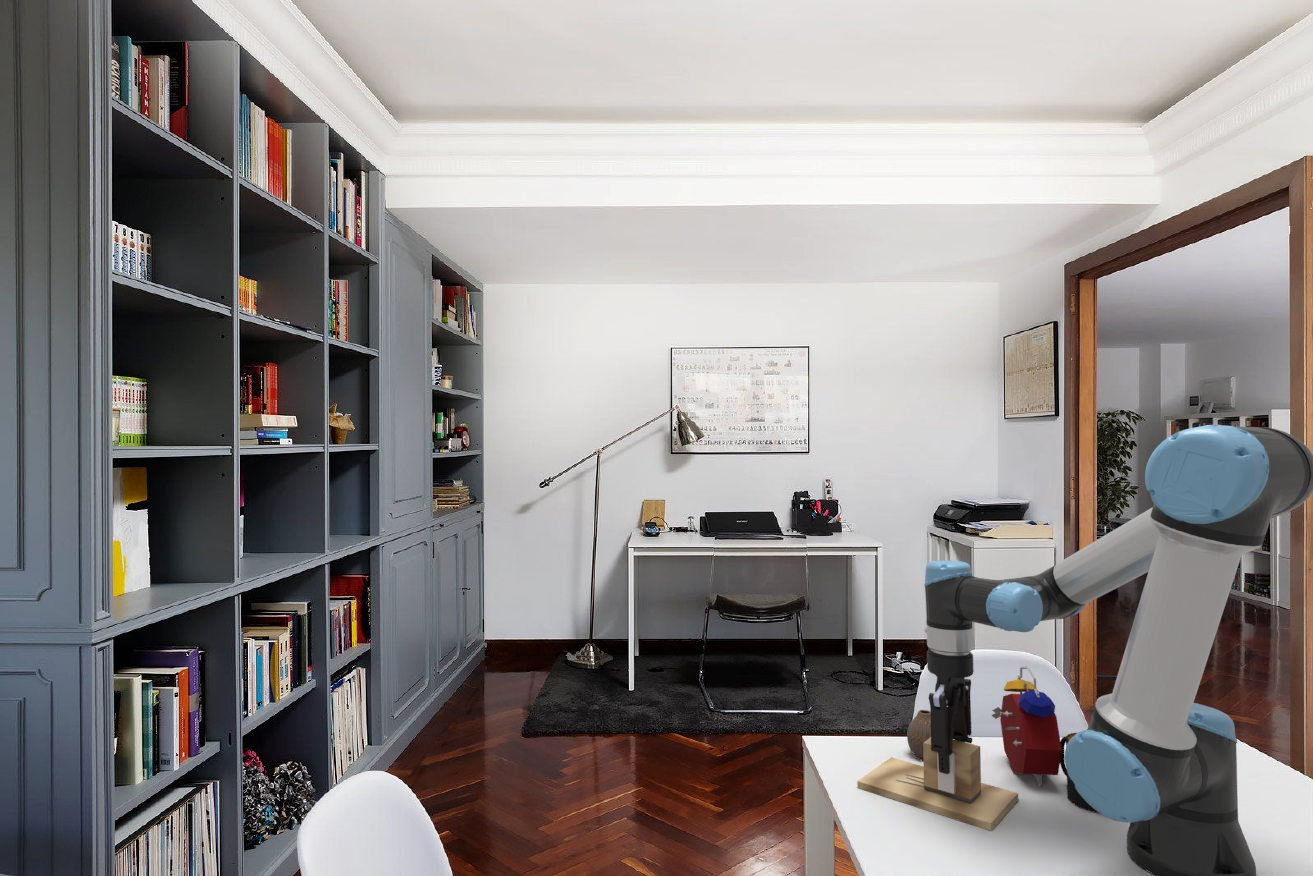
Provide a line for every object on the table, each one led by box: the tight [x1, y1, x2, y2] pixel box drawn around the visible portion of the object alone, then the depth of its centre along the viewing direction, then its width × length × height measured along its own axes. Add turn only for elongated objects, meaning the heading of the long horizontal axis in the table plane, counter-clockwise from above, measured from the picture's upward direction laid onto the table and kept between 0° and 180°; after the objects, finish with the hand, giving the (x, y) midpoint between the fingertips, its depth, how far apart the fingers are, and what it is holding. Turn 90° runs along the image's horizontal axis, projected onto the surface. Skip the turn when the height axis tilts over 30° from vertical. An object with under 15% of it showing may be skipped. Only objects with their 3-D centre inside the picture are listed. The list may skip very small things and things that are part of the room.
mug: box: [1059, 732, 1100, 814], centre depth 126 cm, size 8×12×10 cm
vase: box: [906, 709, 931, 760], centre depth 144 cm, size 7×7×9 cm
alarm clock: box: [991, 666, 1062, 787], centre depth 136 cm, size 15×9×20 cm, turn 171°
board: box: [856, 757, 1019, 832], centre depth 128 cm, size 23×14×1 cm, turn 47°
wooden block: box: [922, 737, 982, 803], centre depth 126 cm, size 8×5×8 cm, turn 48°
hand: (953, 785), depth 126 cm, fingers closed on wooden block, 5 cm apart
